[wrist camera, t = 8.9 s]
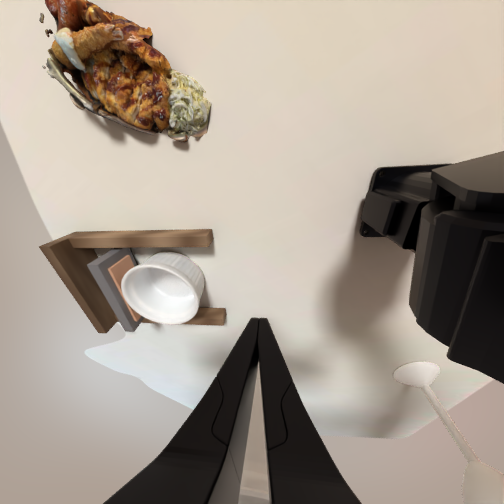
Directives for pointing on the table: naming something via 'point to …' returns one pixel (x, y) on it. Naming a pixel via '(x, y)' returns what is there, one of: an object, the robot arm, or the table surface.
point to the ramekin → (164, 288)
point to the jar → (255, 456)
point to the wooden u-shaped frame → (82, 243)
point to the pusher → (116, 284)
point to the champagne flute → (456, 439)
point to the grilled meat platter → (122, 72)
